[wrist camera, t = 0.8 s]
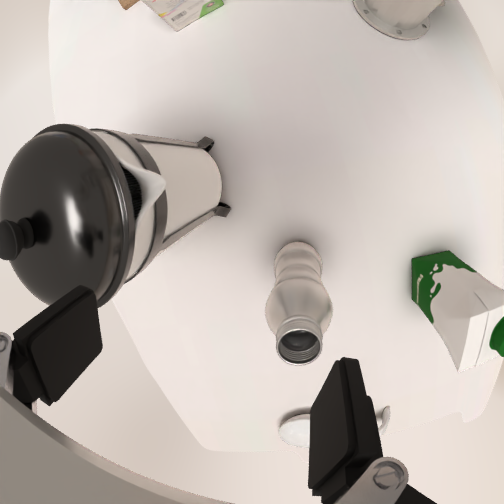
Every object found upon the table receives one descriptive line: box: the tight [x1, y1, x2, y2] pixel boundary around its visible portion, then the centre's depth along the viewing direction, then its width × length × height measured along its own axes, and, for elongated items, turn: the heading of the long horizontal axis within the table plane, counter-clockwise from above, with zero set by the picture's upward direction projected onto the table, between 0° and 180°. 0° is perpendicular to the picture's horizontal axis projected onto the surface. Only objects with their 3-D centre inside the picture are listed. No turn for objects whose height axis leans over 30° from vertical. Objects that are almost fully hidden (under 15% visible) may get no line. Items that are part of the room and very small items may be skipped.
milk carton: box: [412, 251, 504, 373], centre depth 27 cm, size 9×9×20 cm
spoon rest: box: [279, 406, 390, 448], centre depth 45 cm, size 24×12×7 cm, turn 100°
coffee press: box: [0, 124, 231, 308], centre depth 24 cm, size 17×16×30 cm
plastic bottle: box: [265, 242, 333, 365], centre depth 29 cm, size 6×7×20 cm
